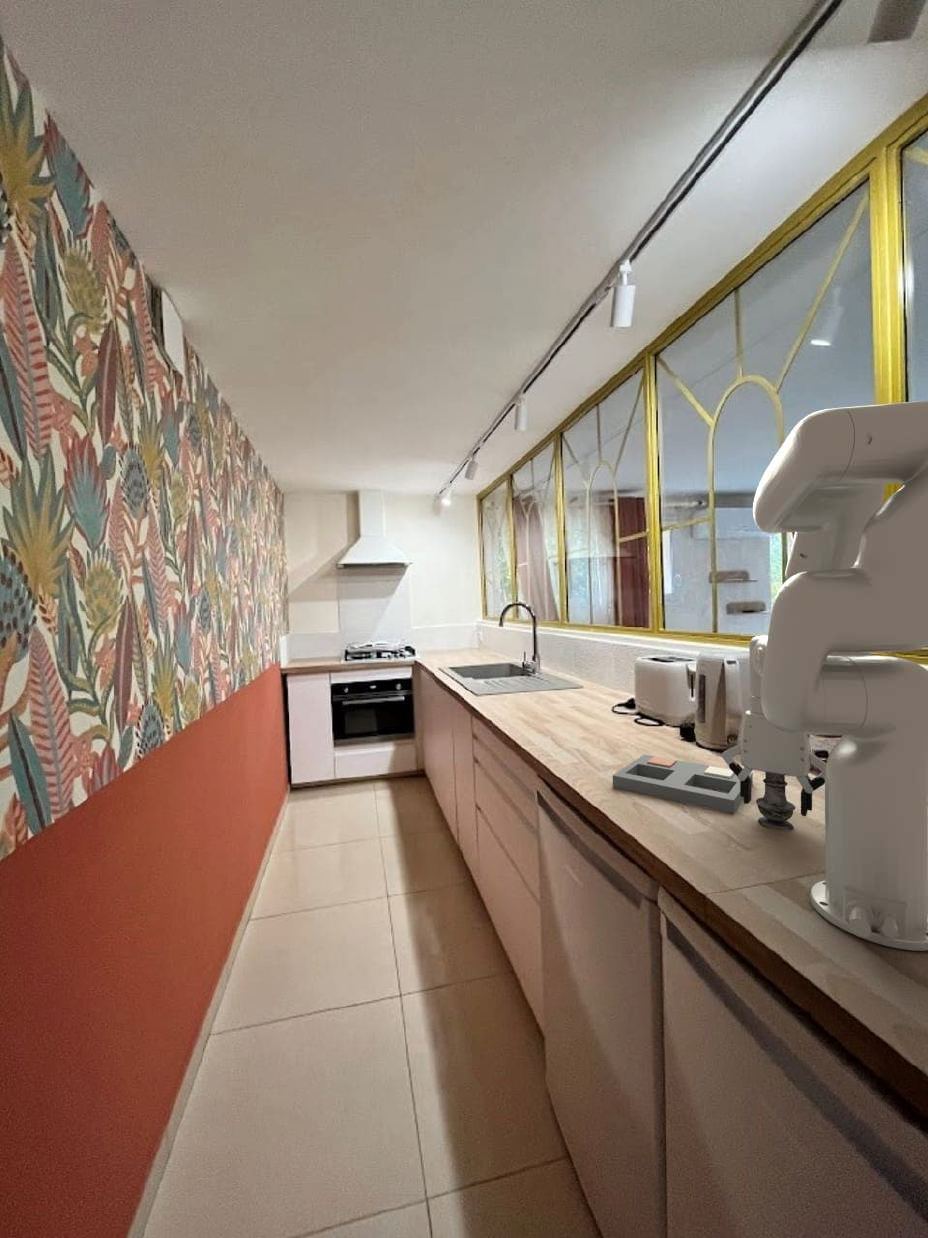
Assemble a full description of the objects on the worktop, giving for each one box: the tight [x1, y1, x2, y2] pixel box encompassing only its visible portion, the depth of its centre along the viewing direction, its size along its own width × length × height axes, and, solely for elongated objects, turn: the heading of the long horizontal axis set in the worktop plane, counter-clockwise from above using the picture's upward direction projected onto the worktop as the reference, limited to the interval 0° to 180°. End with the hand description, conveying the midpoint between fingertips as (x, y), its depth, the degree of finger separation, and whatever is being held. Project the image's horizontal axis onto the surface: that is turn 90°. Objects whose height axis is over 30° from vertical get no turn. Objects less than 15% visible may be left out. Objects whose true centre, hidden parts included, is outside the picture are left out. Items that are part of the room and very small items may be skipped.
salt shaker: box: [755, 772, 796, 832], centre depth 86 cm, size 6×6×12 cm
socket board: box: [612, 754, 754, 815], centre depth 105 cm, size 19×23×3 cm
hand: (775, 806), depth 86 cm, fingers open, 7 cm apart
